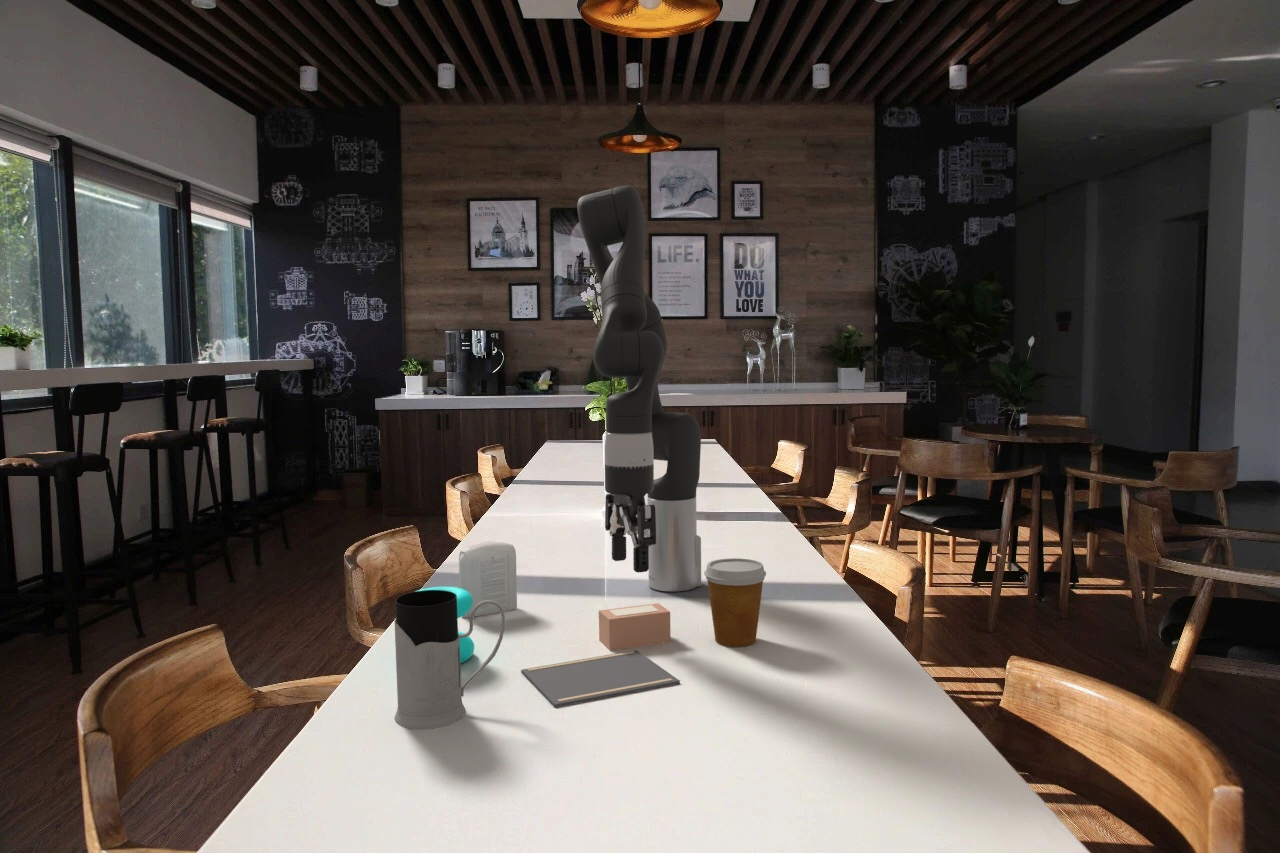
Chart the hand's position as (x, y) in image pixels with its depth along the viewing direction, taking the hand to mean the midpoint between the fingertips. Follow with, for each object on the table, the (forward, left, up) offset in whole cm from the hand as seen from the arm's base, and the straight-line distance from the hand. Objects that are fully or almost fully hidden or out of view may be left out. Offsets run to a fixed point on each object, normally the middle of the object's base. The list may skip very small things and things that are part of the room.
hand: (629, 565), depth 140 cm
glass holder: (+31, +14, -12) cm, 37 cm away
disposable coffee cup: (-15, +7, -12) cm, 20 cm away
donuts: (+28, -6, -12) cm, 32 cm away
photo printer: (+15, -26, -12) cm, 32 cm away
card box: (-1, 0, -12) cm, 12 cm away
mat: (+10, +12, -12) cm, 20 cm away
